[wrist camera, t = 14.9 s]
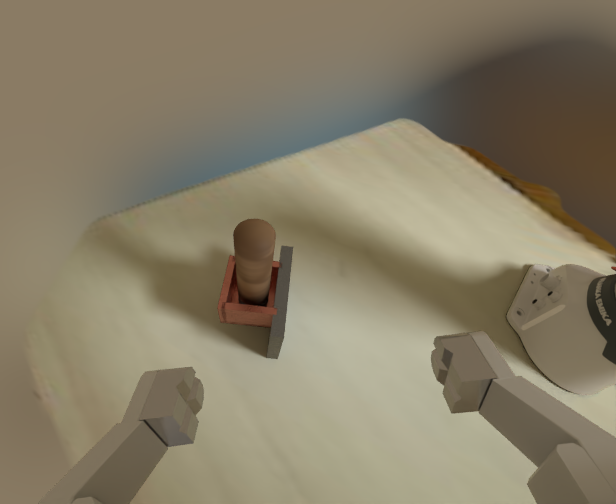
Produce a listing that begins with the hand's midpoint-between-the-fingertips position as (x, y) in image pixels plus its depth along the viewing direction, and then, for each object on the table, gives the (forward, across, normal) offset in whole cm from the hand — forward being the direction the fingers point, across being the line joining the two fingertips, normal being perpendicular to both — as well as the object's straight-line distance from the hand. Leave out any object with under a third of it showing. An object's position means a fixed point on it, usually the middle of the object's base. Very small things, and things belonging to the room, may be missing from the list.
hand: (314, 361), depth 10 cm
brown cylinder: (+23, +8, +18) cm, 30 cm away
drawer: (+25, +10, +23) cm, 35 cm away
